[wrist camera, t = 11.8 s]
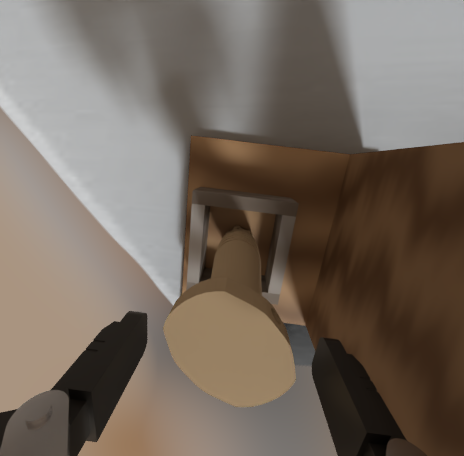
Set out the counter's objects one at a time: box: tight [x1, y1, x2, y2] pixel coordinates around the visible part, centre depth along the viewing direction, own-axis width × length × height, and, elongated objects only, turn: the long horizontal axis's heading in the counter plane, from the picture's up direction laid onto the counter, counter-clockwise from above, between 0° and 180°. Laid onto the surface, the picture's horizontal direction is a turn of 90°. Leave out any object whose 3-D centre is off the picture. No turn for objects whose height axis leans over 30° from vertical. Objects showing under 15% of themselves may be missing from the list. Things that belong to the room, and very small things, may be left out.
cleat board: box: [182, 136, 464, 456], centre depth 14 cm, size 20×19×21 cm
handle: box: [163, 226, 296, 407], centre depth 16 cm, size 5×6×15 cm
